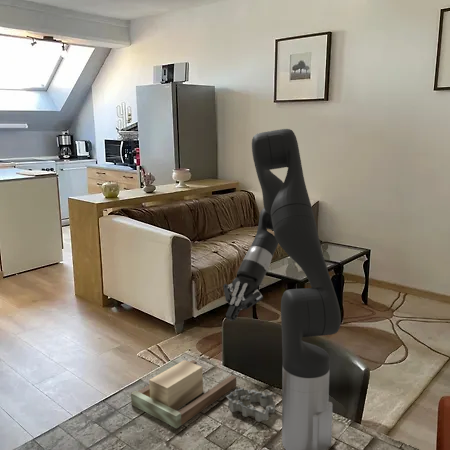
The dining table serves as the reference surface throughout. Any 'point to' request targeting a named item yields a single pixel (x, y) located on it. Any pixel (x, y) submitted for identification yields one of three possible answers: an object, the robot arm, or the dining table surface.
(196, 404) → the wooden tray frame
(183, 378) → the maple block
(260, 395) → the egg carton
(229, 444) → the dining table surface
